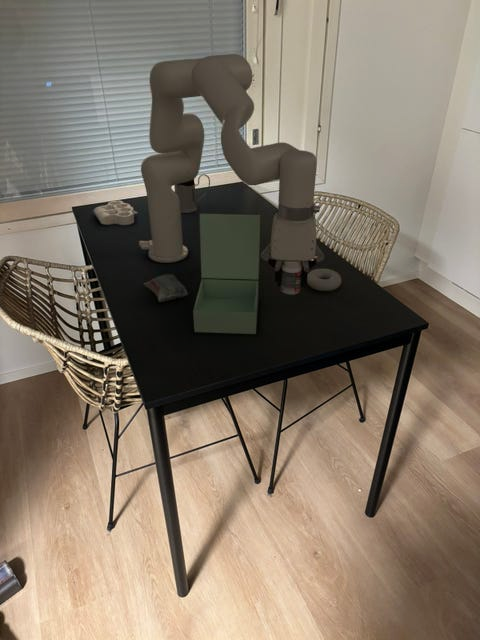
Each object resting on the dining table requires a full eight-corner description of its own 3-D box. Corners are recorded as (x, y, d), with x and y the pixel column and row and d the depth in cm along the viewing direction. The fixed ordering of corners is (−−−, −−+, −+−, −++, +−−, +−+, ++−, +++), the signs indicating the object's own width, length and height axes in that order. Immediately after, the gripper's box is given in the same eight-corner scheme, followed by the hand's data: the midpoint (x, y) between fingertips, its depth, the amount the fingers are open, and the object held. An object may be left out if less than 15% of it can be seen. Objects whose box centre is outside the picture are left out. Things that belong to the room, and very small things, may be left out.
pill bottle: (299, 296, 116) (301, 263, 112) (279, 293, 117) (280, 262, 112) (301, 286, 120) (303, 254, 115) (281, 284, 121) (283, 253, 116)
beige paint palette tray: (92, 212, 189) (129, 206, 195) (103, 229, 176) (143, 222, 182) (90, 204, 188) (128, 198, 193) (102, 220, 174) (142, 213, 180)
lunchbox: (255, 334, 121) (256, 313, 118) (194, 332, 122) (193, 311, 119) (258, 300, 135) (258, 280, 131) (202, 298, 135) (201, 278, 132)
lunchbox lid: (260, 215, 123) (260, 211, 127) (199, 214, 124) (201, 209, 128) (258, 279, 131) (259, 273, 135) (201, 278, 132) (203, 271, 136)
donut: (299, 281, 144) (319, 296, 136) (299, 271, 142) (320, 285, 134) (327, 274, 148) (348, 288, 140) (328, 263, 146) (349, 277, 138)
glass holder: (177, 204, 197) (175, 166, 189) (212, 206, 196) (211, 167, 188) (172, 212, 190) (169, 173, 182) (208, 214, 188) (207, 174, 180)
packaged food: (159, 309, 131) (157, 292, 128) (143, 289, 139) (142, 274, 137) (189, 301, 134) (188, 285, 132) (172, 282, 143) (171, 267, 140)
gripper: (333, 205, 110) (325, 277, 120) (256, 203, 111) (255, 275, 121) (336, 218, 104) (327, 293, 114) (255, 216, 105) (254, 290, 115)
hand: (290, 283), depth 118 cm, fingers closed on pill bottle, 4 cm apart
